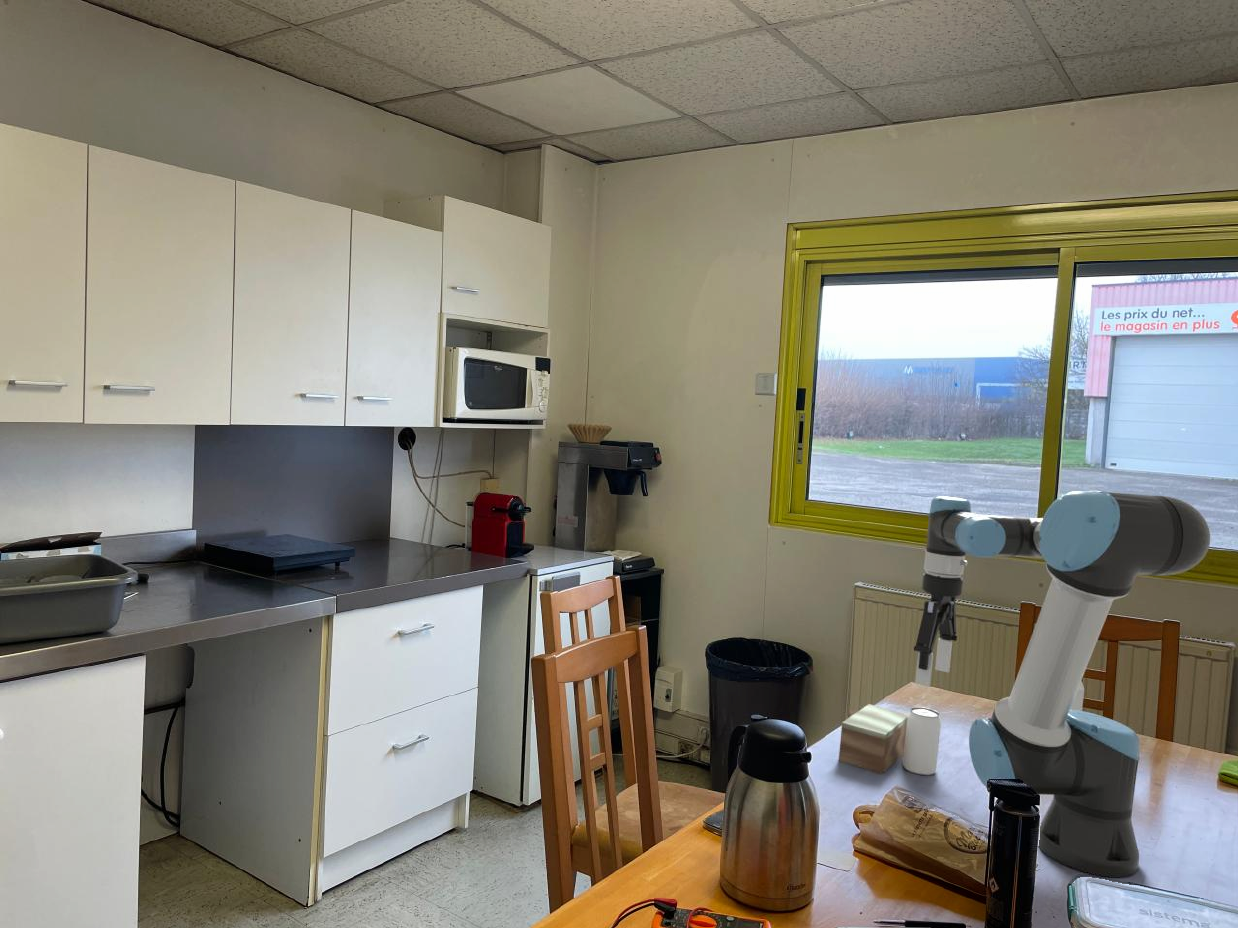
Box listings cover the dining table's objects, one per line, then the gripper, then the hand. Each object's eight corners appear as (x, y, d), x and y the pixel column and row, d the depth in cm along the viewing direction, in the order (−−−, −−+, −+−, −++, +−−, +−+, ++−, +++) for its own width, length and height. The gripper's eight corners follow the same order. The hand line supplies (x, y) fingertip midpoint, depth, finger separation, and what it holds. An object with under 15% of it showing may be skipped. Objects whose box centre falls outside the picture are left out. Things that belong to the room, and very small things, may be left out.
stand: (881, 773, 179) (885, 734, 178) (838, 760, 184) (842, 722, 183) (906, 751, 192) (910, 714, 191) (865, 739, 197) (868, 703, 196)
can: (931, 764, 185) (937, 708, 185) (939, 777, 179) (945, 718, 178) (899, 761, 186) (905, 704, 185) (906, 773, 180) (912, 715, 179)
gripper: (945, 585, 168) (933, 696, 169) (978, 570, 188) (967, 669, 190) (905, 578, 172) (894, 686, 174) (941, 564, 192) (931, 661, 194)
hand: (932, 677), depth 182 cm, fingers open, 13 cm apart
